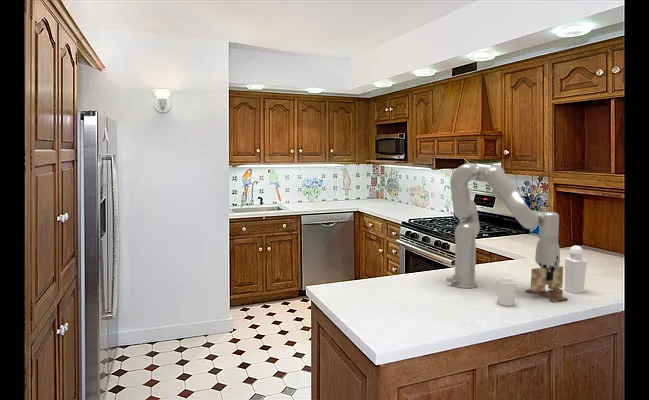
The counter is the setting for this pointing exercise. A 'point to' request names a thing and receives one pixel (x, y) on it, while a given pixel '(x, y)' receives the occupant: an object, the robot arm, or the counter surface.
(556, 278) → the slotted board
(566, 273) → the white tall bottle shape
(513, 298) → the white cup
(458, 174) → the robot arm
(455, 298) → the counter surface
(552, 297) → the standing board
